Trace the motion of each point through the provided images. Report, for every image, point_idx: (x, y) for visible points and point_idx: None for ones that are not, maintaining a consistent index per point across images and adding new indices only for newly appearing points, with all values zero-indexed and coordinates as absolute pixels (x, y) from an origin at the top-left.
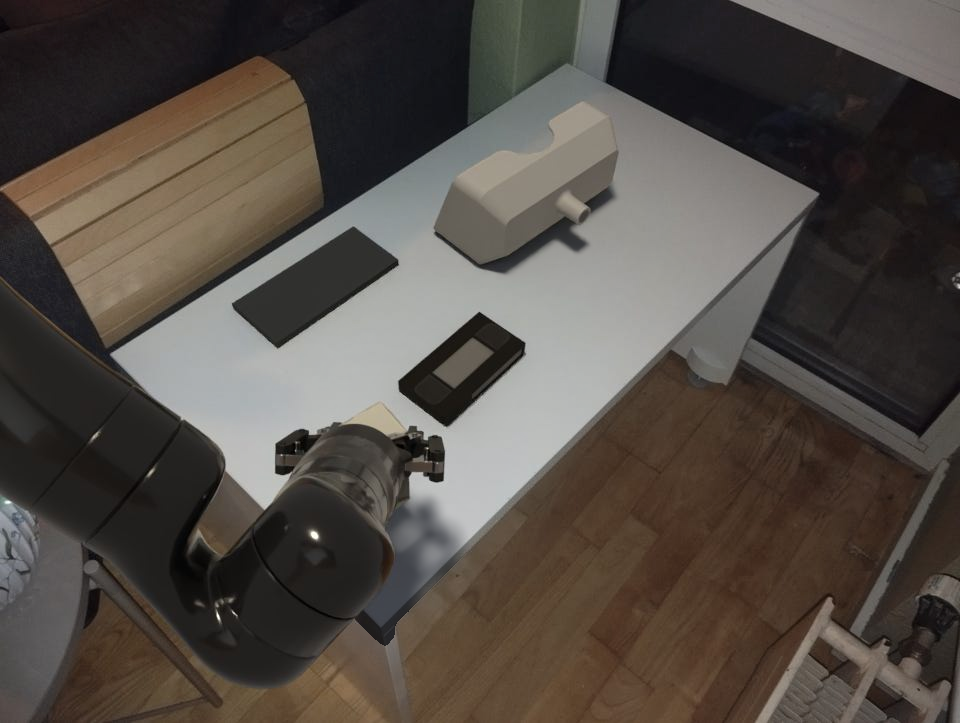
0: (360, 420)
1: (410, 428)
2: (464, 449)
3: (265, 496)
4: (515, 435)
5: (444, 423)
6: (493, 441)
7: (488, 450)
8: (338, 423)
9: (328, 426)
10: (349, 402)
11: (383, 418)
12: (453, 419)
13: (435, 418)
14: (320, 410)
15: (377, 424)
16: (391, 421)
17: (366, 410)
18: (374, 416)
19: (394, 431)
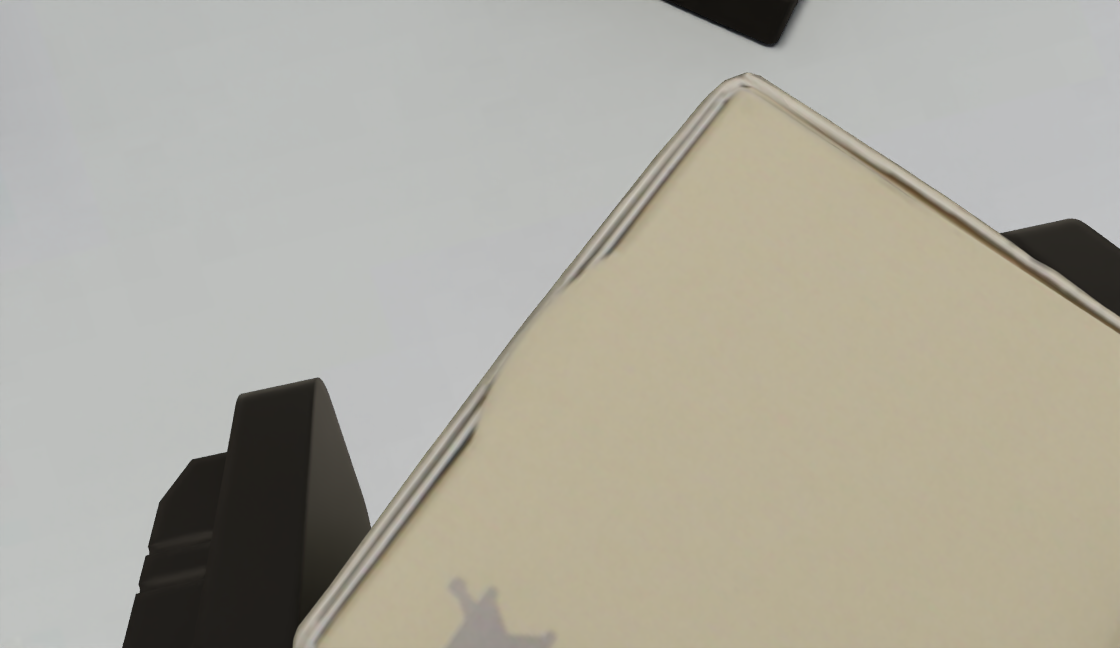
0: (595, 433)
1: (1108, 296)
2: (895, 138)
3: (27, 638)
4: (1099, 10)
5: (767, 34)
6: (1011, 65)
7: (1005, 115)
8: (292, 423)
9: (196, 463)
10: (278, 38)
11: (889, 319)
12: (796, 2)
13: (710, 18)
14: (153, 113)
15: (848, 434)
16: (1006, 333)
17: (617, 257)
18: (759, 320)
19: (1111, 476)
